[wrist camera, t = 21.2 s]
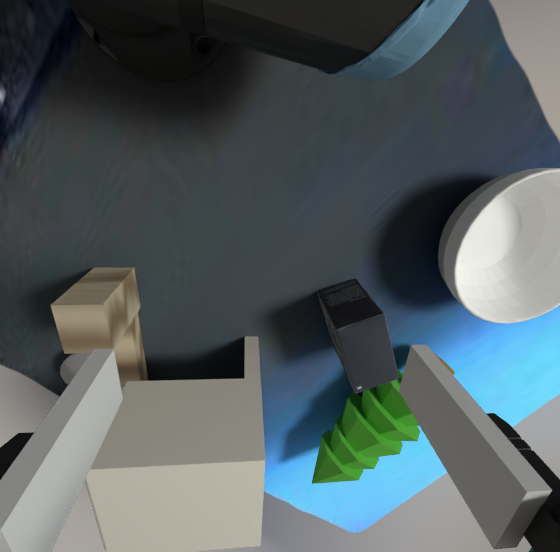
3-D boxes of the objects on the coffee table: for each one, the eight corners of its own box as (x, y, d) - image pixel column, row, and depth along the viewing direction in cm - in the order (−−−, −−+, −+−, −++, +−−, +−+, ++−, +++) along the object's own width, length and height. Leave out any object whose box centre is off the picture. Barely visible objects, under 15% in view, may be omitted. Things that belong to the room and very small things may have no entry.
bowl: (573, 213, 44) (644, 230, 37) (474, 312, 50) (518, 346, 42) (490, 130, 39) (553, 129, 31) (389, 252, 44) (421, 278, 36)
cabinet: (133, 337, 46) (58, 471, 27) (258, 336, 48) (265, 460, 29) (144, 409, 51) (88, 560, 33) (255, 405, 53) (260, 545, 35)
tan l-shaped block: (94, 267, 41) (50, 305, 32) (134, 267, 41) (102, 304, 32) (120, 391, 49) (91, 449, 40) (153, 390, 50) (132, 446, 41)
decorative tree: (488, 406, 41) (336, 537, 48) (456, 369, 52) (336, 478, 59) (419, 349, 41) (279, 486, 48) (402, 324, 53) (290, 438, 59)
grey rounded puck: (61, 360, 46) (50, 374, 43) (89, 334, 45) (79, 347, 42) (99, 383, 49) (90, 398, 46) (126, 360, 47) (119, 373, 45)
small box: (372, 333, 50) (402, 380, 40) (332, 346, 50) (353, 396, 40) (358, 276, 45) (388, 313, 36) (315, 290, 45) (333, 331, 36)
